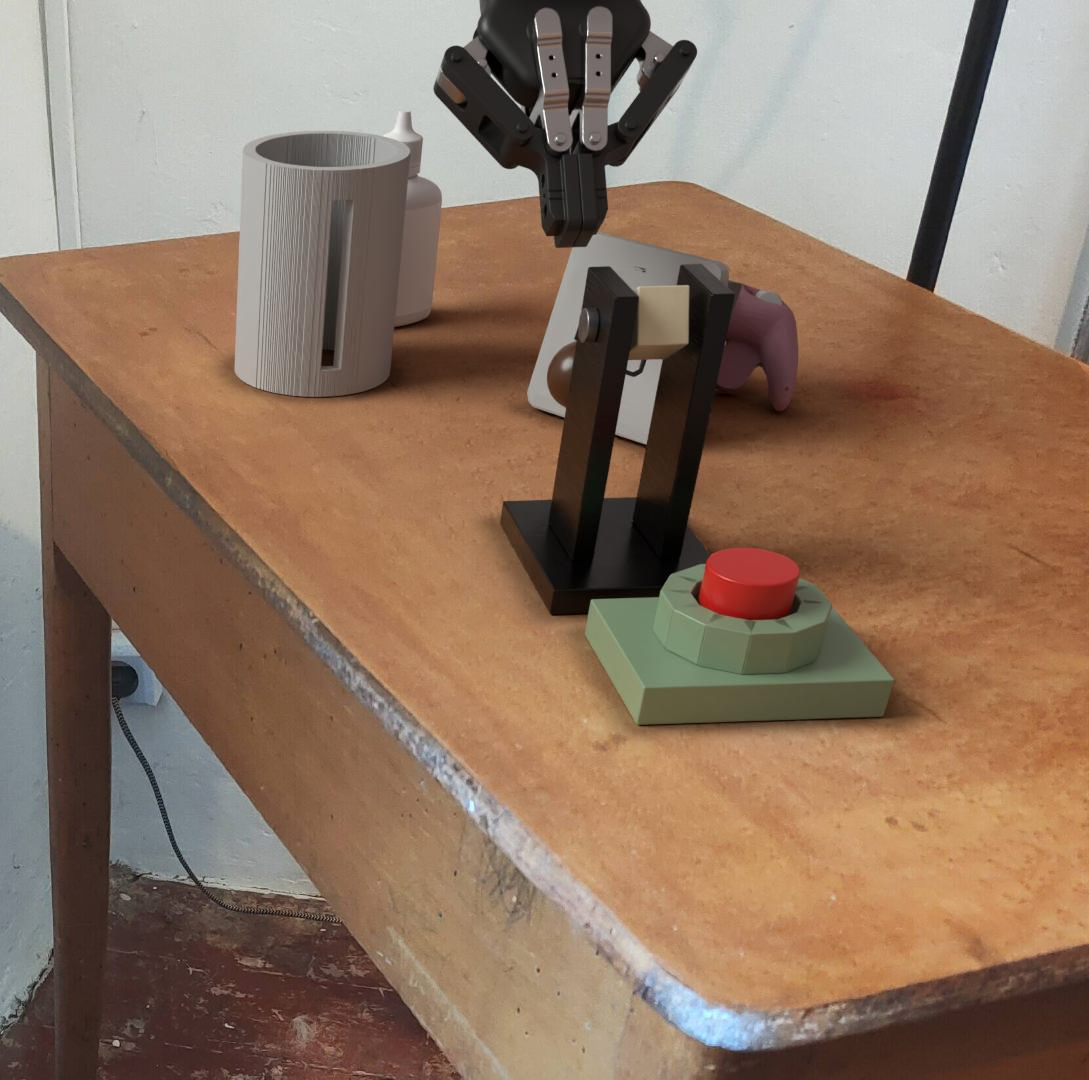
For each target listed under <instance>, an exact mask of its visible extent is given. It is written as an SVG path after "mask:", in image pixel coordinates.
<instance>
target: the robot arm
mask: <svg viewBox="0 0 1089 1080" xmlns="http://www.w3.org/2000/svg"><path fill="white" fill-rule="evenodd" d="M479 11H480V16H479V18H478V21H477V25H476V28H475V30H474V32H473V36H472V40H471V41H469V42H468V43H467V44H466V45H465V46H460V45H452V46H450V47H447V48H446V50H445V51H444V54H443V56H442V60H441V63H440V66H439V68H438V72H437V74H436V78H435V81H434V83H433V93H434V95H435V96H436V98H437V99H439V101H440V102H441V103H442V104H443V105H444V106H445V107H446V108H447V109H448V111H450V112H451V114H452V115H453V116H454V117H455V118H456V119H457V120H458V122H460V124H461V125H462V126H463V127H464V128H465V129H466V130H467V131H468V132H469V133H470V134H471V135H472V136H473V137H474V138H475V139H476V141H477V142H478V143H479V144H480V145H481V146H482V147H483V148H484V149H485V150H486V151H487V153H488V154H489V155H490V156H491V157H492V158H493V159H494V160H495V161H496V162H497V163H498V164H499V166H501V167H502V168H503V169H506V170H514V169H516V168H518V167H521V168H525V169H528V170H530V171H531V172H533V174H535V176H536V178H537V182H538V194H539V206H540V221H541V228H542V230H543V232H544V234H545V236H546V237H553V239H554V247H555V248H556V249H567V248H570V249H572V247H587V245H588V243H589V241H590V240H591V238H592V236H593V235H596V234H597V232H599V230H600V228H601V226H602V225H603V223H604V221H605V219H606V216H607V213H608V211H609V202H608V190H607V188H608V187H607V176H606V175H607V174H606V167H607V166H609V167H615V168H616V167H617V168H618V167H621V166H622V165H624V164H625V163H626V161H627V160H628V159H629V157H630V156H631V154H632V153H633V152H634V150H635V149H636V148H637V146H638V145H639V144H640V142H641V141H642V139H643V138H644V137H645V135H646V134H647V132H648V131H649V130H650V128H651V127H652V126H653V124H654V123H655V121H656V120H657V119H658V117H659V116H660V115H661V113H662V112H663V110H664V109H665V108H666V107H667V105H668V104H669V102H671V99H672V98H674V96H675V94H676V93H677V91H678V90H679V88H680V86H681V85H682V83H683V81H684V79H685V78H686V76H687V75H688V72H689V70H691V67H692V65H693V63H694V61H695V60H696V58H697V56H698V48H697V46H696V45H695V43H694V42H692V41H691V40H687V39H680V40H678V41H677V42H675V43H674V45H672V44H670V43H669V42H668V41H666V40H665V39H664V38H662V37H660V36H658V35H657V34H656V33H654V32H652V31H651V27H652V20H651V16H650V13H649V11H648V10H647V8H646V7H645V5H644V4H643V3H642V0H479ZM635 60H637V62H638V64H639V70H638V72H637V74H636V82H637V83H636V84H637V85H638V90H639V93H638V94H637V95H636V97H635V98H634V99H633V100H632V101H631V103H630V104H629V106H628V107H627V109H626V110H625V111H624V113H623V114H622V115H621V116H620V119H619V120H618V121H616V122H614V123H611V124H608V123H609V122H608V121H609V120H608V117H609V114H608V112H609V111H608V110H609V103H610V100H611V99H610V98H611V95H612V93H613V92H614V91H615V89H616V87H617V86H618V84H619V83H620V82H621V80H622V78H623V77H624V75H625V74H626V73H627V71H628V70H629V69H630V66H631V65H632V63H633V62H634V61H635ZM493 77H494V78H493ZM495 80H496V81H495ZM498 83H499V84H500V85H499V84H498ZM518 104H519V105H520V106H519V105H518Z"/></svg>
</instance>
